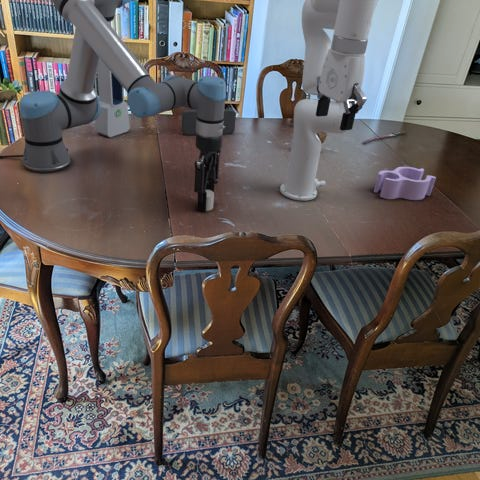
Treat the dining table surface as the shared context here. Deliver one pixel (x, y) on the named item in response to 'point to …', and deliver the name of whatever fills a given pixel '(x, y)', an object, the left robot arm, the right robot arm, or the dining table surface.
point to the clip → (404, 184)
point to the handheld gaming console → (191, 118)
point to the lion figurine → (322, 136)
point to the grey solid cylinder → (209, 200)
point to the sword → (383, 137)
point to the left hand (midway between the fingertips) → (205, 206)
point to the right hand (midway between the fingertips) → (333, 122)
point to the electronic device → (111, 104)
